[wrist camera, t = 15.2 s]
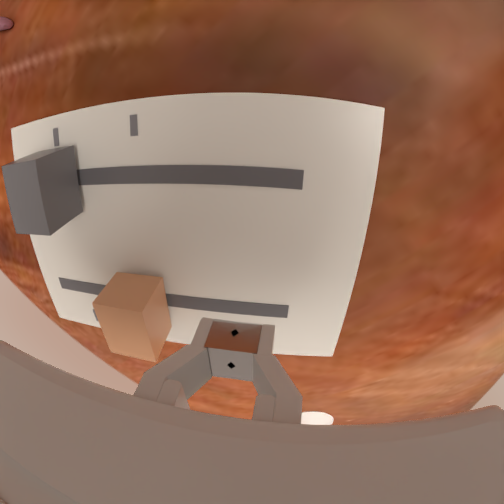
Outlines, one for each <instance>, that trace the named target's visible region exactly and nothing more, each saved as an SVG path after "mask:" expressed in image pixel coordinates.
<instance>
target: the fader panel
mask: <svg viewBox="0 0 504 504" xmlns="http://www.w3.org/2000/svg"><path fill="white" fill-rule="evenodd" d="M384 111H385V108H382V107H377V106H372V105H367V104H361V103H355V102H349V101H343V100H336V99H328V98H320V97H311V96H300V95H288V94H271V93H197V94H181V95H168V96H158V97H149V98H141V99H133V100H126V101H120V102H114V103H108V104H102V105H97V106H92V107H87V108H83V109H78V110H74V111H70V112H65V113H61V114H58V115H54V116H50V117H47V118H43V119H40V120H36V121H33V122H30V123H27V124H23V125H20V126H17V127H15V128H12V129H11V134H12V144H13V153H14V161H15V160H18V159H20V158H23V157H25V156H28V155H30V154H33V153H36V152H38V151H43V150H48V149H54V148H60V147H66V146H72V145H74V152H75V161H76V169H77V177H78V183H79V190H80V196H81V202H82V207H83V212H82V213H80V214H79V215H78V216H76V217H75V218H73V219H72V220H71V221H69V222H68V223H67V224H65V225H64V226H63V227H61V228H60V229H59V230H57V231H56V232H55V233H53V234H52V235H51V236H46V235H32V234H30V237H31V240H32V243H33V247H34V250H35V253H36V256H37V259H38V263H39V265H40V268H41V271H42V274H43V277H44V280H45V282H46V285H47V288H48V290H49V293H50V295H51V298H52V300H53V303H54V305H55V307H56V310H57V312H58V314H59V317H61V318H64V319H68V320H72V321H75V322H79V323H83V324H87V325H91V326H96V327H100V328H101V326H100V324H99V321H98V319H97V316H96V313H95V310H94V308H93V305H92V302H93V301H94V300H95V299H96V297H97V296H98V295H99V293H100V292H101V291H102V290H103V288H104V287H105V286H106V285H107V283H108V282H109V281H110V280H111V278H112V277H113V276H114V275H115V274H116V272H122V273H131V274H139V275H148V276H157V277H163V282H164V288H165V293H166V299H167V304H168V310H169V315H170V320H171V325H172V327H171V330H170V332H169V334H168V336H167V339H166V341H171V342H177V343H183V344H191V342H192V340H193V337H194V335H195V332H196V330H197V327H198V325H199V322H200V320H201V319H202V318H203V317H206V318H212V319H221V320H228V321H235V322H246V323H256V324H269V325H275V336H274V348H273V354H286V355H305V356H333V353H334V350H335V347H336V344H337V340H338V337H339V334H340V331H341V328H342V325H343V321H344V318H345V314H346V311H347V308H348V304H349V301H350V297H351V293H352V290H353V286H354V282H355V278H356V274H357V270H358V266H359V262H360V258H361V254H362V249H363V245H364V241H365V236H366V231H367V226H368V222H369V216H370V211H371V206H372V200H373V195H374V189H375V183H376V177H377V170H378V163H379V156H380V148H381V140H382V131H383V122H384Z"/></svg>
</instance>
